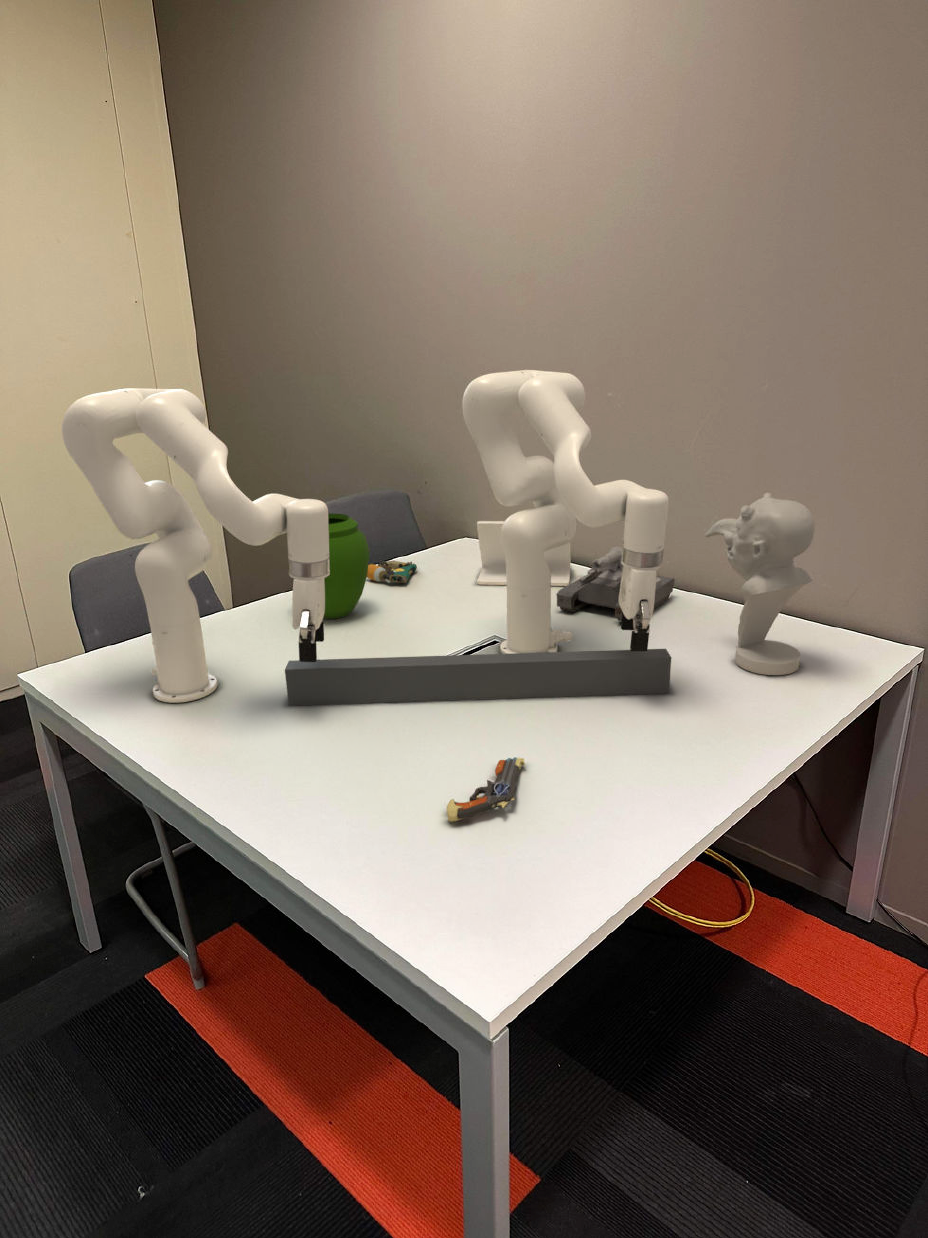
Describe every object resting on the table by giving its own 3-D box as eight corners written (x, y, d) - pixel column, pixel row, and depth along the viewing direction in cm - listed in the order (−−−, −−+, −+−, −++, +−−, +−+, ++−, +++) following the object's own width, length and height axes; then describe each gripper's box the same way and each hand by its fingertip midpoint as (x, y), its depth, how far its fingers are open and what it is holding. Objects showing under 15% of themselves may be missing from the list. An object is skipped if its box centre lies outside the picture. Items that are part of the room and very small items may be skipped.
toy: (603, 584, 229) (605, 530, 224) (673, 597, 218) (677, 540, 213) (555, 612, 210) (556, 553, 205) (630, 627, 199) (633, 566, 194)
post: (663, 683, 171) (666, 648, 168) (669, 693, 166) (671, 657, 164) (292, 695, 170) (288, 660, 168) (288, 705, 166) (284, 669, 163)
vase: (389, 608, 216) (383, 514, 208) (339, 633, 201) (330, 533, 192) (330, 596, 226) (322, 506, 218) (278, 619, 211) (267, 523, 202)
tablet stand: (569, 585, 229) (570, 524, 223) (476, 584, 232) (475, 523, 226) (570, 566, 246) (571, 508, 240) (484, 564, 249) (483, 507, 243)
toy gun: (442, 810, 126) (509, 808, 124) (466, 754, 144) (524, 752, 142) (445, 827, 127) (511, 825, 125) (468, 769, 145) (526, 767, 142)
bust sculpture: (735, 630, 196) (748, 478, 183) (821, 666, 176) (842, 499, 163) (681, 644, 189) (691, 488, 176) (764, 683, 169) (782, 510, 157)
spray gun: (385, 567, 251) (431, 574, 246) (355, 581, 237) (403, 588, 231) (385, 553, 250) (431, 560, 244) (355, 566, 236) (403, 573, 230)
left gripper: (296, 552, 167) (300, 633, 173) (280, 581, 150) (284, 669, 157) (335, 553, 167) (337, 634, 173) (322, 582, 151) (325, 670, 157)
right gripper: (613, 541, 167) (606, 622, 173) (630, 572, 151) (622, 659, 157) (652, 542, 167) (643, 622, 173) (673, 572, 151) (662, 659, 158)
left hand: (312, 650), depth 165 cm, fingers open, 9 cm apart
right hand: (633, 639), depth 165 cm, fingers open, 9 cm apart
